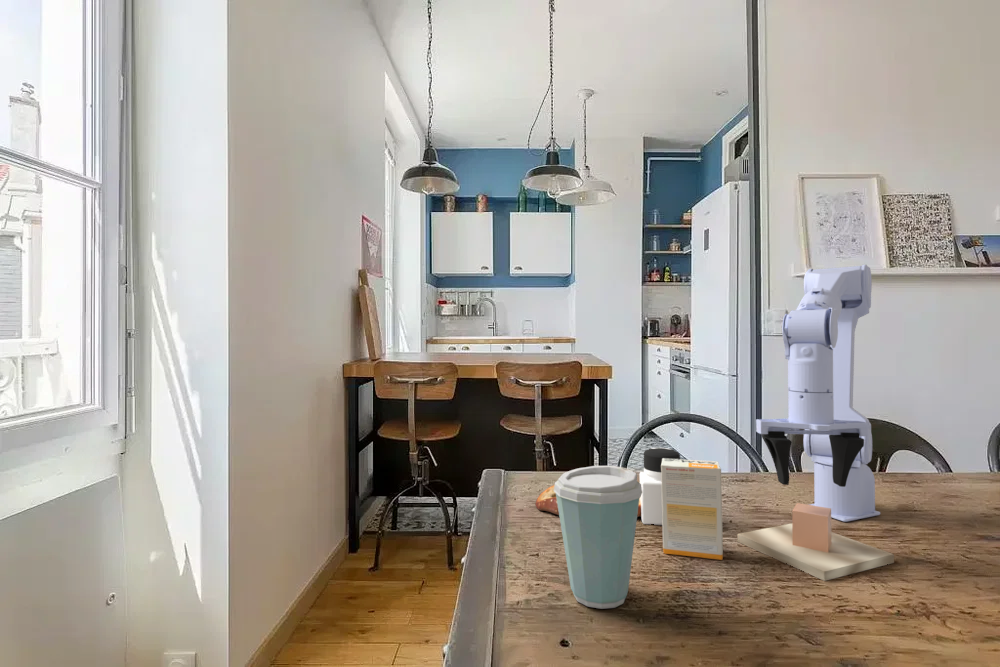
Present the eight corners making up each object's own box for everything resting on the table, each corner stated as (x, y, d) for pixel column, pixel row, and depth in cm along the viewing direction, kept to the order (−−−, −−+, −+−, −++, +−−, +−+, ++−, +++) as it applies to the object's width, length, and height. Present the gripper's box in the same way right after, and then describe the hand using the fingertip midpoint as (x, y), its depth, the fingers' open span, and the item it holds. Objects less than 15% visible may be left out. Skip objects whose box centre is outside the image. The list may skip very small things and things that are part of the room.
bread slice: (666, 508, 94) (665, 487, 94) (597, 532, 83) (597, 509, 83) (592, 487, 108) (591, 469, 109) (525, 506, 98) (525, 486, 98)
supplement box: (720, 548, 78) (719, 460, 78) (723, 561, 73) (722, 468, 73) (662, 541, 80) (661, 456, 80) (661, 554, 76) (660, 463, 76)
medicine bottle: (686, 527, 86) (686, 454, 86) (642, 524, 88) (641, 453, 88) (680, 513, 93) (680, 446, 93) (639, 510, 95) (639, 444, 95)
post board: (801, 528, 85) (801, 503, 85) (893, 562, 72) (893, 532, 72) (737, 541, 80) (737, 514, 80) (824, 580, 67) (824, 548, 67)
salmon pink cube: (792, 545, 76) (792, 510, 76) (797, 535, 79) (797, 502, 79) (828, 552, 73) (827, 516, 73) (831, 542, 77) (831, 508, 77)
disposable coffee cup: (584, 627, 57) (584, 489, 57) (538, 584, 66) (537, 466, 67) (662, 607, 61) (661, 478, 61) (608, 569, 71) (607, 458, 71)
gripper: (768, 393, 74) (768, 490, 73) (880, 394, 72) (881, 493, 71) (751, 388, 80) (751, 476, 80) (852, 389, 79) (853, 479, 78)
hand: (811, 483), depth 76 cm, fingers open, 7 cm apart
